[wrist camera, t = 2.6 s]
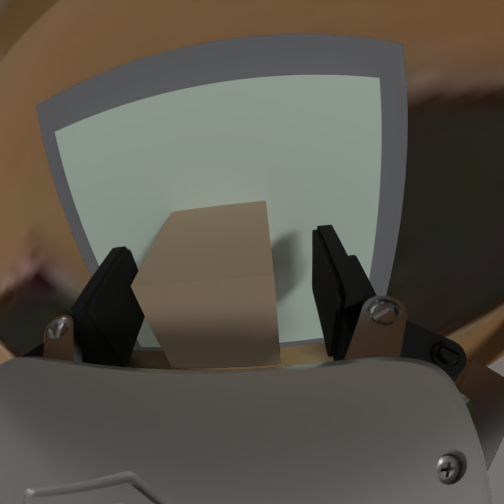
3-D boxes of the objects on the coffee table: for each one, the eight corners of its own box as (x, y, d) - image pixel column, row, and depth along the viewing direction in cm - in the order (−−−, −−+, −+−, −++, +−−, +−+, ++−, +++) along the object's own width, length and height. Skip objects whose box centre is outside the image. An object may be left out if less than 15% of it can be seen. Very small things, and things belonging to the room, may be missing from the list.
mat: (396, 45, 9) (402, 43, 8) (373, 327, 18) (375, 333, 18) (43, 104, 10) (36, 105, 9) (134, 344, 19) (132, 350, 19)
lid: (367, 78, 9) (460, 79, 4) (353, 318, 17) (379, 401, 11) (68, 127, 10) (-25, 166, 5) (145, 333, 18) (121, 410, 12)
